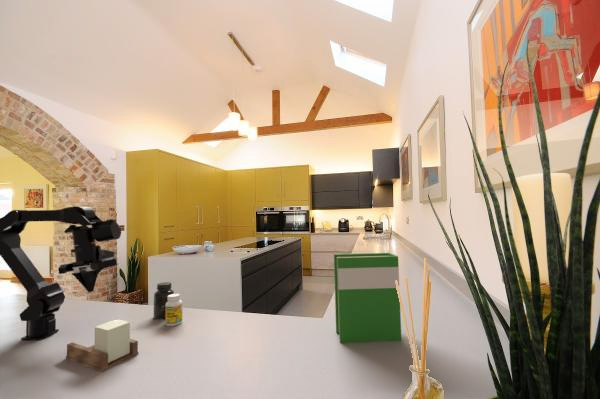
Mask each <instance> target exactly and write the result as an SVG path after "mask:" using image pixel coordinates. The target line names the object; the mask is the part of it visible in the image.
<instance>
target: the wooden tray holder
mask: <svg viewBox="0 0 600 399" xmlns="http://www.w3.org/2000/svg"><path fill="white" fill-rule="evenodd" d="M138 346H139V340H135V339H132V338H130V353H128V354H126V355H124V356H122V357H120V358H118V359H116V360H113V361H111V362H109V363H108V354H107V353H103V352H100V351H97V350H94V344H93V345H91V346H88V347H87V346H84V345H81V344H78V343H75V342H69V343H67V344H66V355H65V359H66V360H68V361H71V362H74V363H77V364H79V365H81V366H85V367H87V368H90V369H92V370H95V371H98V372H101V373H103V372H104V371H107V370H109V369H111V368H113V367H115V366H118V365H119V364H121V363H123V362H125V361H128V360H129V358H130V359H131V357H132V358H133V357H136V356H137V355H139V350H138V349H139V348H138Z"/></svg>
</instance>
